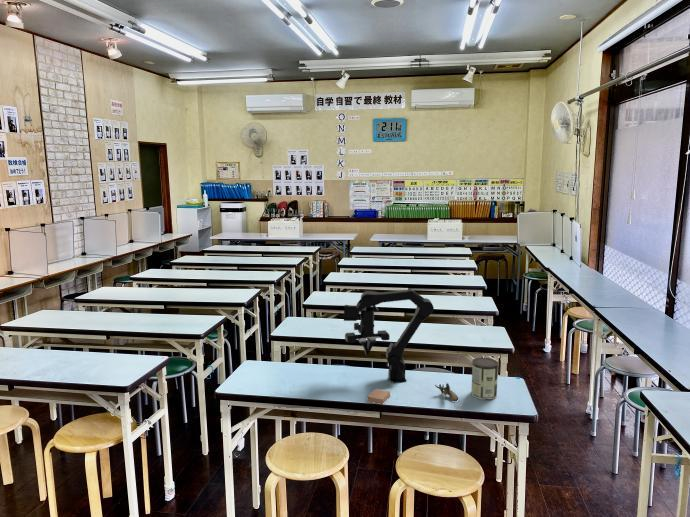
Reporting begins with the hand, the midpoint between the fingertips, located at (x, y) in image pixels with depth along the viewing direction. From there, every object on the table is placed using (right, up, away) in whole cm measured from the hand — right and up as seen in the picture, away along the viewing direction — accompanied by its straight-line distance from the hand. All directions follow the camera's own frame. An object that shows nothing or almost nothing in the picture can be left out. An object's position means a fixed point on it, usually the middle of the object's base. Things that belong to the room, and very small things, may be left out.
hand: (367, 355), depth 223 cm
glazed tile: (+6, -13, -14) cm, 20 cm away
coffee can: (+47, -14, -14) cm, 51 cm away
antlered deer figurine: (+32, -14, -16) cm, 39 cm away
